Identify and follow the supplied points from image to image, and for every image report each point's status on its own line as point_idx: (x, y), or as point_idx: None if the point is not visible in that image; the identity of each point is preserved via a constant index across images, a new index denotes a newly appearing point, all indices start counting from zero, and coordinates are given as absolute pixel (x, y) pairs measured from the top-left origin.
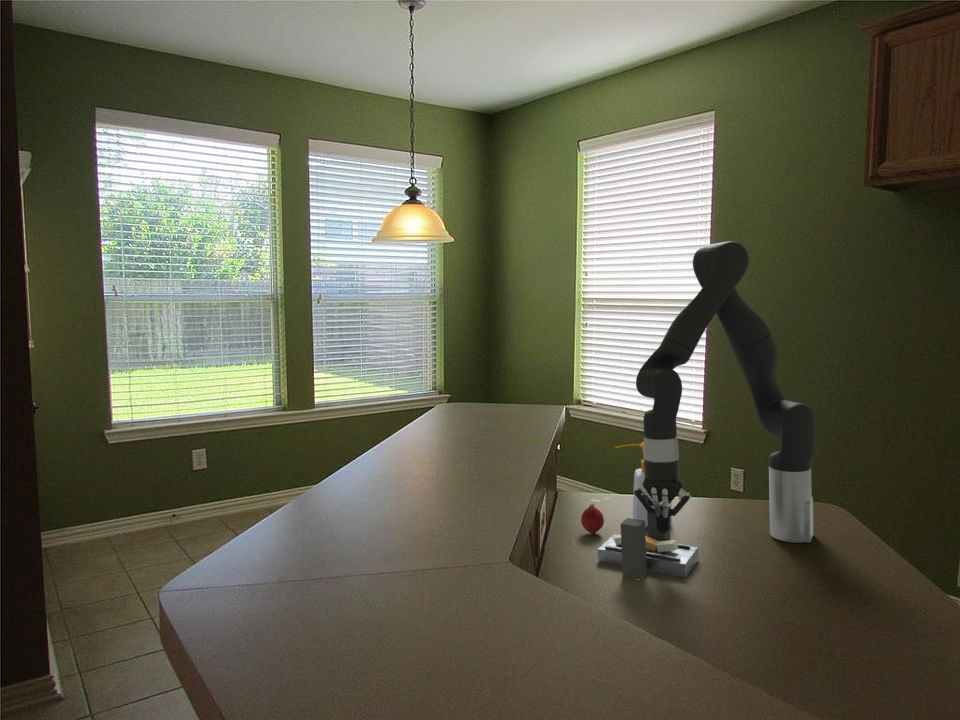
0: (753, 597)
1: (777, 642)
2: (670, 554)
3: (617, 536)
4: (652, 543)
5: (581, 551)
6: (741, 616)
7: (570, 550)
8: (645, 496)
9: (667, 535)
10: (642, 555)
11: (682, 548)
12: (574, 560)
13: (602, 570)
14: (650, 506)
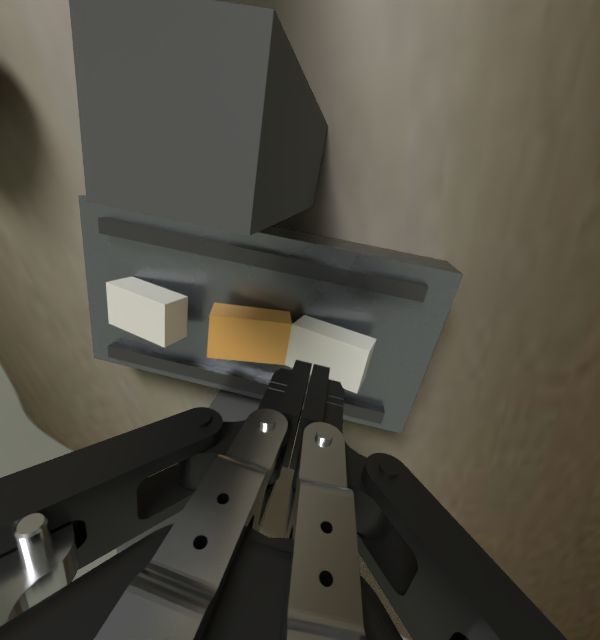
0: (586, 488)
1: (574, 631)
2: None
3: (113, 308)
4: (268, 363)
5: (42, 270)
6: (523, 562)
7: (10, 270)
8: (86, 526)
9: (313, 160)
10: None
11: (391, 296)
12: (62, 342)
13: (159, 391)
14: (187, 502)
